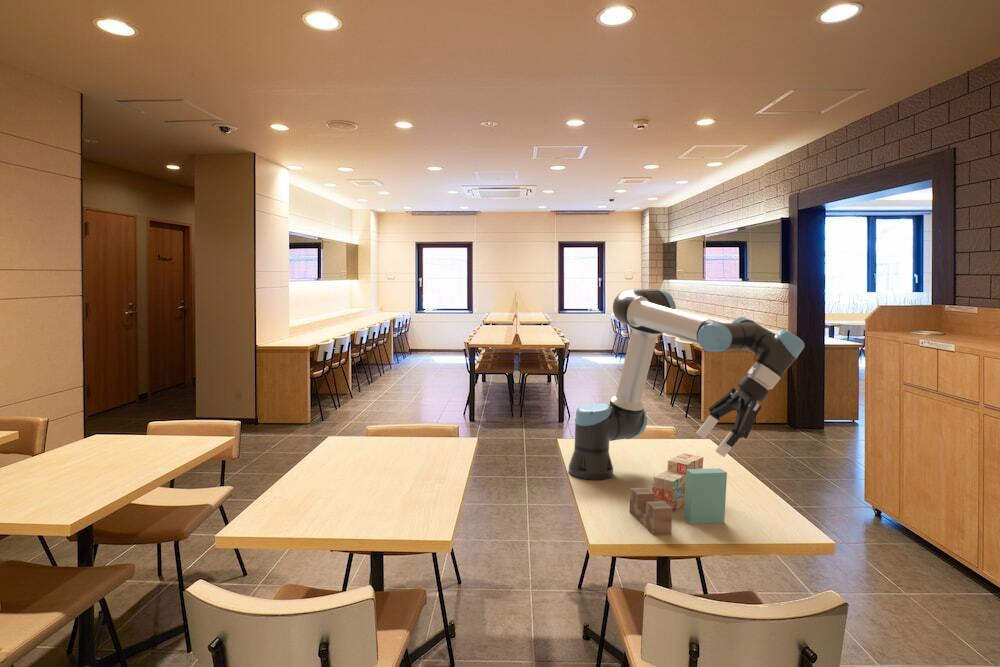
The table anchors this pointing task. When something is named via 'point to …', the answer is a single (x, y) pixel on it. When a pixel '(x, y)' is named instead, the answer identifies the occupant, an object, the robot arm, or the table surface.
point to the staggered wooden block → (650, 511)
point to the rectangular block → (705, 495)
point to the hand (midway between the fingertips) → (709, 444)
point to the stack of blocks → (675, 480)
